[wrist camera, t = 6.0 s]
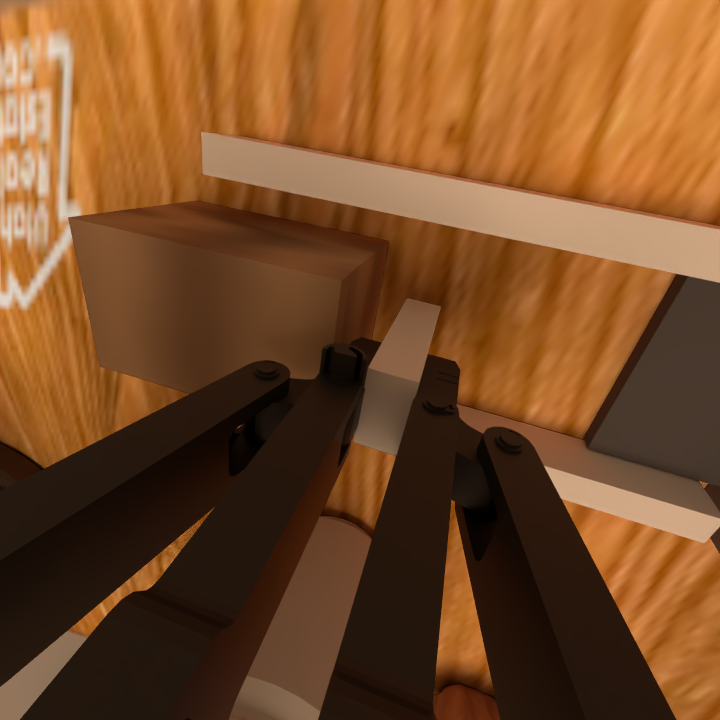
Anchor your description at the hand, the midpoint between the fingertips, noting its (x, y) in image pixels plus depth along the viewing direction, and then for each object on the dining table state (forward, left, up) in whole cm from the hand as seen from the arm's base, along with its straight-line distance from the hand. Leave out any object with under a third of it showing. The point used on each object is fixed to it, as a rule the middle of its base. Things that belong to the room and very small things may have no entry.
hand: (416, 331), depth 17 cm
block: (-7, 0, -2) cm, 8 cm away
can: (-2, -19, -3) cm, 19 cm away
